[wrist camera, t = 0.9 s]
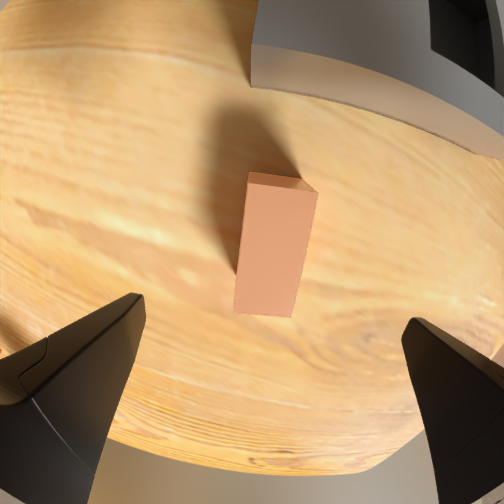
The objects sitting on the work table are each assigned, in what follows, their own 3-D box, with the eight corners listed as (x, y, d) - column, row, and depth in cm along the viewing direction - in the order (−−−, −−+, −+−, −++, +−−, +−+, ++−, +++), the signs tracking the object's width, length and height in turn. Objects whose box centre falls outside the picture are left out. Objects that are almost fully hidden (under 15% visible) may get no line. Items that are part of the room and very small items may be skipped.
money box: (476, 20, 9) (539, 6, 2) (474, 153, 14) (552, 177, 7) (274, -60, 8) (286, -129, 1) (250, 87, 13) (251, 44, 6)
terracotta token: (301, 178, 15) (318, 192, 12) (283, 279, 18) (290, 317, 14) (248, 171, 15) (248, 182, 11) (236, 274, 18) (233, 312, 14)
